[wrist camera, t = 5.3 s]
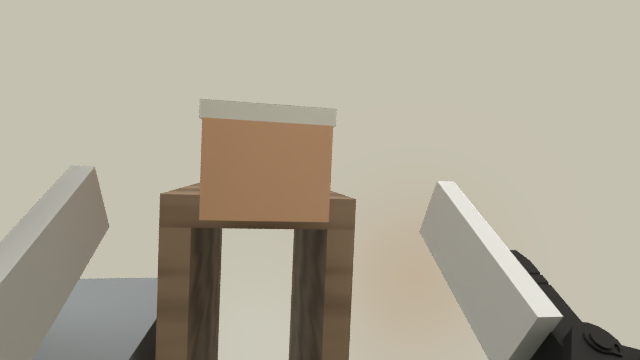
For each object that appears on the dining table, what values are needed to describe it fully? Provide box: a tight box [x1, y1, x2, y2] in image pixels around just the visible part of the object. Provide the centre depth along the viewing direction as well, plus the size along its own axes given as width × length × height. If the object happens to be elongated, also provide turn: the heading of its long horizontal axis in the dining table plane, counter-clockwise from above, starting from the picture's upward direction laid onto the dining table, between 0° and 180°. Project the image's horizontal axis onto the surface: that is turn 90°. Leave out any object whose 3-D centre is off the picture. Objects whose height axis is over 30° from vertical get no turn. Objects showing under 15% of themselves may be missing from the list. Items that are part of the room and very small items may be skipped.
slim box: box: [199, 99, 336, 222], centre depth 25 cm, size 26×5×4 cm, turn 10°
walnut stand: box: [155, 183, 356, 360], centre depth 32 cm, size 20×12×28 cm, turn 10°
